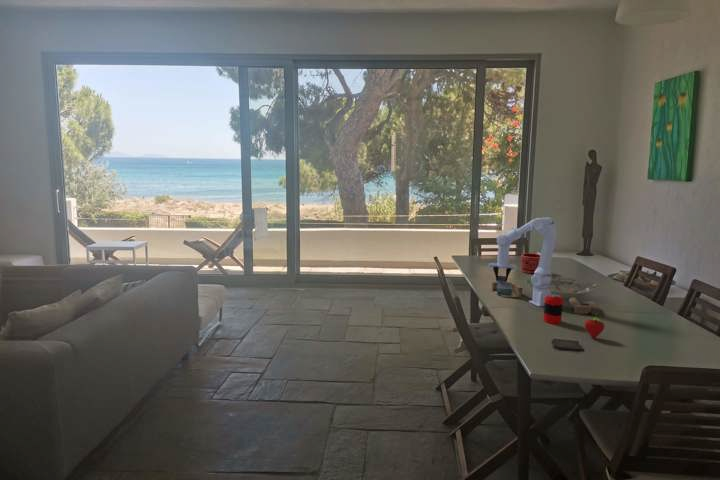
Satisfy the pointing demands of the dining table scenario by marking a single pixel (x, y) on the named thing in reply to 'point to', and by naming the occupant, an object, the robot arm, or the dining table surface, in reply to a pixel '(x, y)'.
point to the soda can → (553, 309)
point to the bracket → (504, 286)
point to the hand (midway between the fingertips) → (501, 281)
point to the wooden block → (584, 307)
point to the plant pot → (529, 262)
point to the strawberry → (594, 327)
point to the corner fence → (516, 288)
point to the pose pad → (508, 295)
